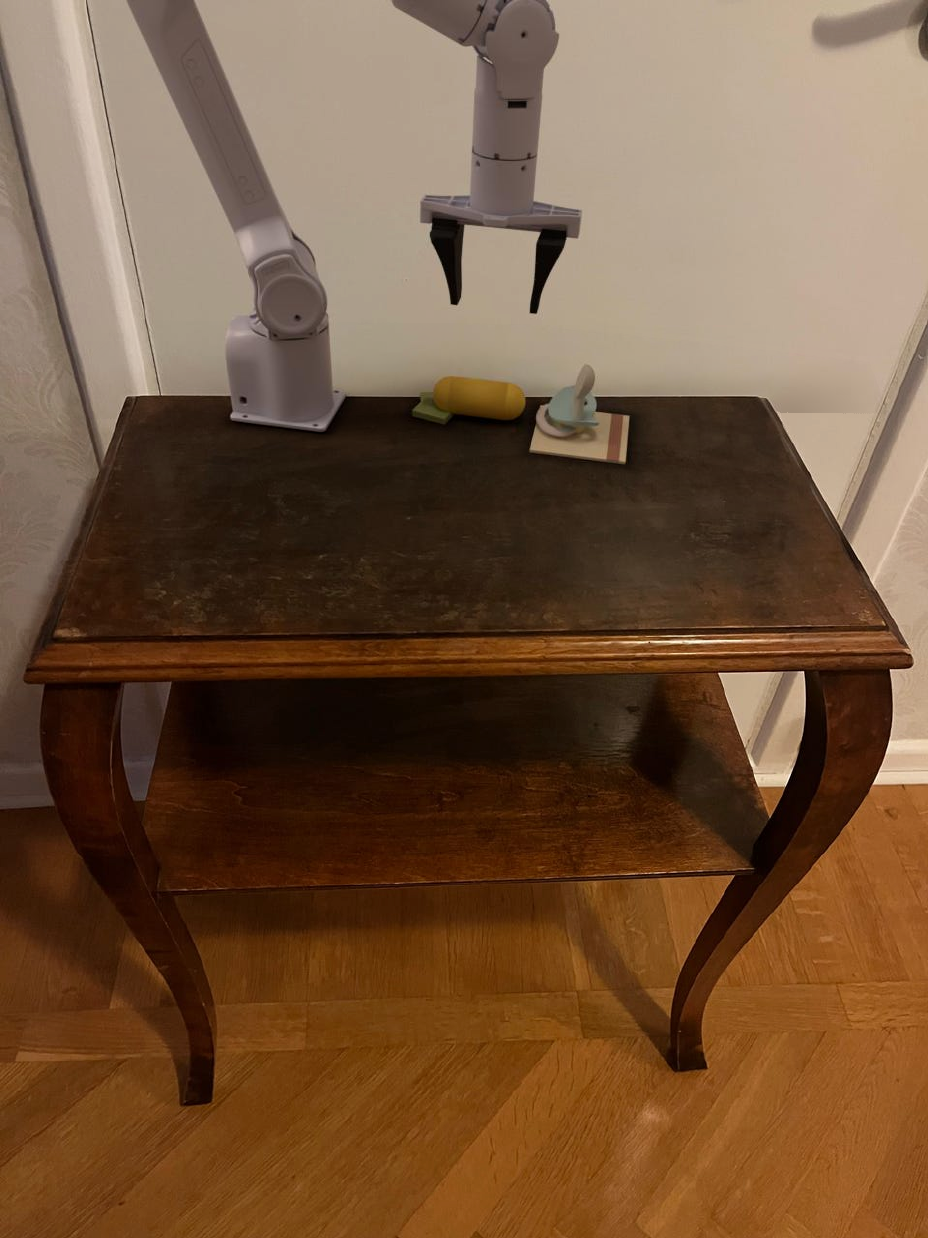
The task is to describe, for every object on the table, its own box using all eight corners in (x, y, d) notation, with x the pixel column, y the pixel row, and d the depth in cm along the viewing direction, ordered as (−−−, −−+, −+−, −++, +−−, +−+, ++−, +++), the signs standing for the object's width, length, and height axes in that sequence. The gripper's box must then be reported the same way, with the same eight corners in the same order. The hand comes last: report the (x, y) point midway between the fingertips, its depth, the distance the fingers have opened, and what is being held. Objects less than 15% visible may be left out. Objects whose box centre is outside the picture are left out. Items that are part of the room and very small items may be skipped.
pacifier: (536, 443, 86) (599, 444, 86) (540, 382, 82) (607, 383, 82) (534, 406, 92) (593, 407, 92) (538, 347, 88) (600, 348, 87)
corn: (409, 420, 89) (409, 386, 86) (422, 393, 93) (422, 360, 91) (520, 434, 88) (523, 400, 85) (527, 406, 92) (530, 373, 90)
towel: (529, 452, 85) (529, 449, 85) (540, 407, 92) (540, 404, 92) (625, 464, 84) (625, 461, 84) (629, 418, 91) (629, 415, 91)
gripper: (412, 156, 76) (412, 313, 85) (584, 172, 75) (565, 330, 84) (429, 135, 82) (427, 285, 90) (590, 150, 80) (572, 301, 89)
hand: (494, 305), depth 87 cm, fingers open, 7 cm apart
